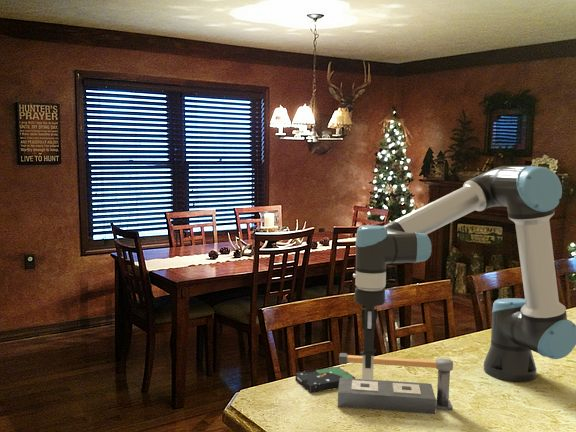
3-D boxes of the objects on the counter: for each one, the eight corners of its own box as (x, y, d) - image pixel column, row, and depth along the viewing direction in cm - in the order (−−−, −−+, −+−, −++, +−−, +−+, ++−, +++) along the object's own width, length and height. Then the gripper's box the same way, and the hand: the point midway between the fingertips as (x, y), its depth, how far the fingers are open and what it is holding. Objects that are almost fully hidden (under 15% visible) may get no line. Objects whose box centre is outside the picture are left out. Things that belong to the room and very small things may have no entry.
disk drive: (310, 395, 152) (356, 386, 159) (311, 386, 152) (356, 377, 158) (294, 381, 162) (337, 373, 168) (294, 372, 161) (338, 364, 168)
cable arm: (451, 365, 146) (451, 358, 146) (454, 372, 142) (454, 364, 141) (339, 359, 150) (339, 351, 150) (339, 364, 146) (339, 357, 145)
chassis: (430, 397, 150) (431, 381, 150) (435, 414, 140) (435, 397, 140) (339, 391, 154) (339, 375, 153) (337, 406, 144) (338, 390, 143)
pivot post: (449, 403, 147) (451, 367, 146) (452, 410, 143) (453, 373, 142) (432, 402, 148) (434, 366, 147) (435, 409, 143) (436, 372, 142)
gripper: (355, 281, 144) (353, 368, 146) (354, 292, 131) (352, 388, 133) (384, 282, 143) (381, 370, 145) (386, 294, 130) (383, 390, 132)
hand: (367, 378), depth 139 cm, fingers closed
